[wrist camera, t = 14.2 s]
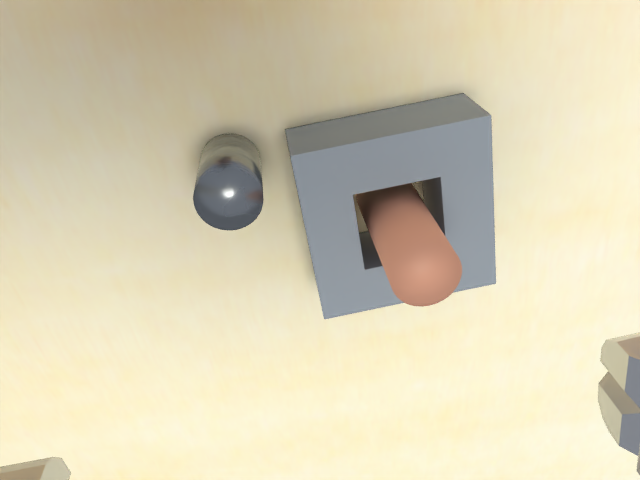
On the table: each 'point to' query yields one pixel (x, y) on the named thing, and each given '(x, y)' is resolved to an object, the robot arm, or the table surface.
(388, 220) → the long pin
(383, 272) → the bore block
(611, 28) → the table surface
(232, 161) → the short pin
